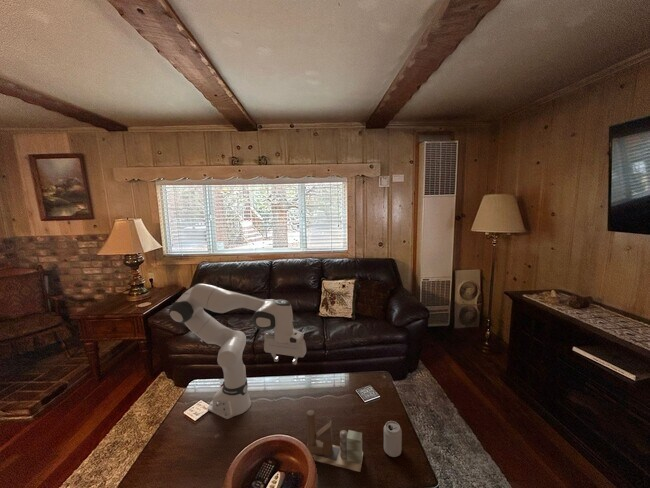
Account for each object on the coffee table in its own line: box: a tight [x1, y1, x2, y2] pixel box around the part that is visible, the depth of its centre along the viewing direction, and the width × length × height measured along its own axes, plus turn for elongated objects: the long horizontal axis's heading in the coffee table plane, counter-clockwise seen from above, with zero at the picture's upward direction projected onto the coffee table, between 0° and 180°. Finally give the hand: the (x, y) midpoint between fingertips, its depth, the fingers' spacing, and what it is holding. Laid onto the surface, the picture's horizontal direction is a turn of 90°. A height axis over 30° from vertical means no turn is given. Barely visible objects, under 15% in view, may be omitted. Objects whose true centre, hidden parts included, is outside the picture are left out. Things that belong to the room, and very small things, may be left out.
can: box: [383, 420, 403, 458], centre depth 115 cm, size 8×8×12 cm
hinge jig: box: [312, 429, 364, 473], centre depth 113 cm, size 24×8×12 cm, turn 74°
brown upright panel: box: [306, 409, 334, 456], centre depth 114 cm, size 4×11×18 cm, turn 79°
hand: (285, 362), depth 125 cm, fingers open, 8 cm apart
